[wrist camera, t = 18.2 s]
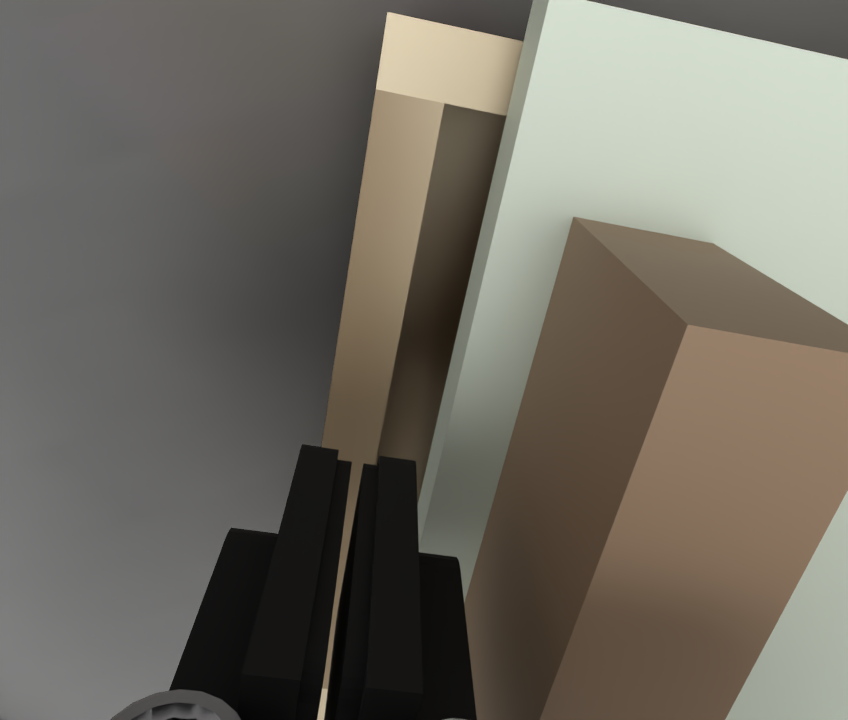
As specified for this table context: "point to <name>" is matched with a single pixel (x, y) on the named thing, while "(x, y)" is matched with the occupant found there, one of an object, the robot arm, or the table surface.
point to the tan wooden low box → (413, 245)
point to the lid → (654, 382)
